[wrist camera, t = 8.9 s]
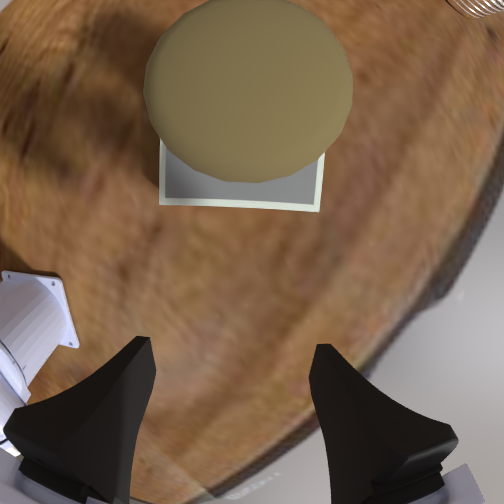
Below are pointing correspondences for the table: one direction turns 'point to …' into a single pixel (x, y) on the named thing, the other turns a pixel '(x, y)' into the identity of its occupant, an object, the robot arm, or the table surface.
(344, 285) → the table surface
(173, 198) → the stand
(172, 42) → the cork
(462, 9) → the water bottle
